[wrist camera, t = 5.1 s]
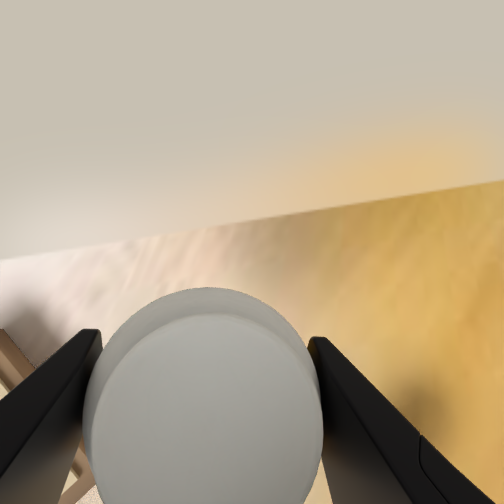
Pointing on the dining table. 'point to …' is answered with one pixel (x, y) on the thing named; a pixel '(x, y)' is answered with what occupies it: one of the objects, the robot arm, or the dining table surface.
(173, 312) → the supplement bottle
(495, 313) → the dining table surface
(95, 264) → the dining table surface
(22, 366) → the tan flat square block
